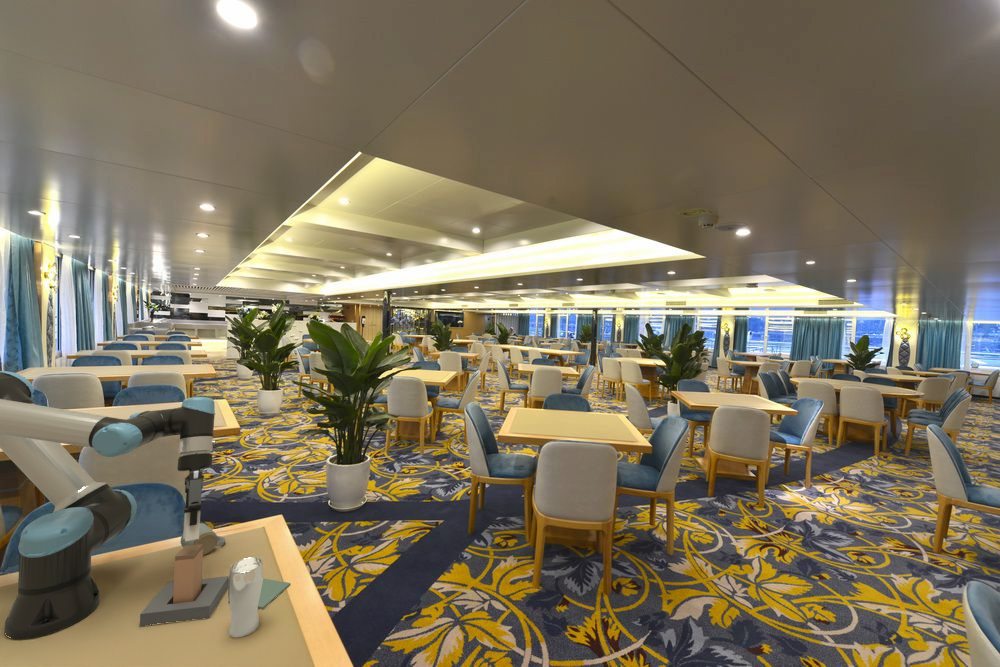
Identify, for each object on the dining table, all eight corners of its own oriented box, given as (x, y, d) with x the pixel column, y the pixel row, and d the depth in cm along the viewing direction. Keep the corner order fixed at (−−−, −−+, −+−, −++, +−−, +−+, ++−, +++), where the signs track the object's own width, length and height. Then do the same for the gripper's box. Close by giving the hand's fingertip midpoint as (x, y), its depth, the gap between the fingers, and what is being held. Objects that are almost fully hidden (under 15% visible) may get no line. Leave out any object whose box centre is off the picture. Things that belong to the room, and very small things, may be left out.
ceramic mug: (191, 561, 120) (193, 535, 120) (179, 552, 124) (180, 527, 124) (230, 547, 129) (231, 522, 129) (217, 539, 133) (219, 515, 133)
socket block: (139, 626, 94) (140, 613, 94) (167, 593, 106) (167, 582, 106) (209, 618, 98) (209, 605, 98) (228, 587, 109) (228, 576, 109)
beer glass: (235, 644, 90) (238, 577, 90) (220, 630, 94) (222, 566, 94) (267, 625, 96) (269, 562, 96) (251, 613, 100) (254, 553, 100)
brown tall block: (172, 613, 99) (174, 556, 99) (182, 600, 104) (184, 545, 103) (191, 611, 100) (194, 554, 100) (201, 598, 105) (203, 544, 105)
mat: (228, 603, 103) (228, 600, 103) (258, 579, 113) (258, 577, 113) (263, 609, 101) (263, 607, 101) (290, 585, 111) (290, 582, 111)
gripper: (216, 447, 104) (212, 537, 98) (208, 457, 122) (204, 533, 116) (179, 450, 100) (172, 545, 93) (177, 460, 118) (171, 540, 112)
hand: (190, 539), depth 105 cm, fingers open, 13 cm apart
